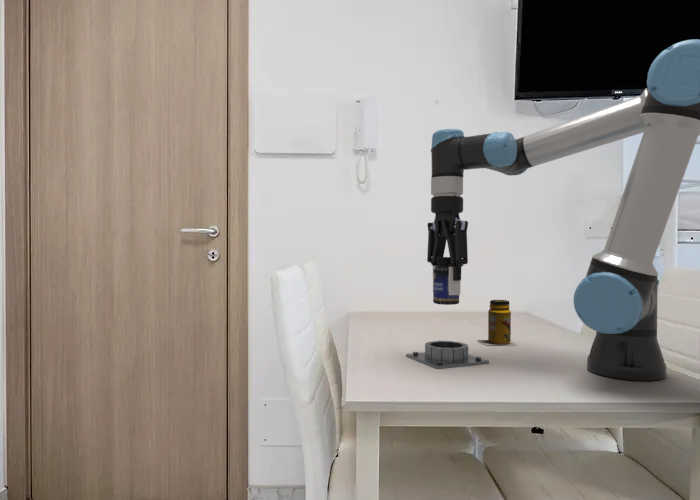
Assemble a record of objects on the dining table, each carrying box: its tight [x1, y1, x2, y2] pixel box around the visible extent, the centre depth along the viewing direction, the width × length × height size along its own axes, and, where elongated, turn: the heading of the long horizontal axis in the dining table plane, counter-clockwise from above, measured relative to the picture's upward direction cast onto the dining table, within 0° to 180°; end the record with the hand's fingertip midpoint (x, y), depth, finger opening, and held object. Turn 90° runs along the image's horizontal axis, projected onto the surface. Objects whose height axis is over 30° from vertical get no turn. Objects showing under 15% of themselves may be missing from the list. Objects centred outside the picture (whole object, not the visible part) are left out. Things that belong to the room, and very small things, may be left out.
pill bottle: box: [432, 256, 460, 306], centre depth 124 cm, size 6×6×11 cm
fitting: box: [405, 340, 490, 370], centre depth 124 cm, size 14×14×4 cm
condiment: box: [477, 299, 517, 346], centre depth 146 cm, size 7×8×12 cm
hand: (446, 293), depth 124 cm, fingers closed on pill bottle, 6 cm apart
